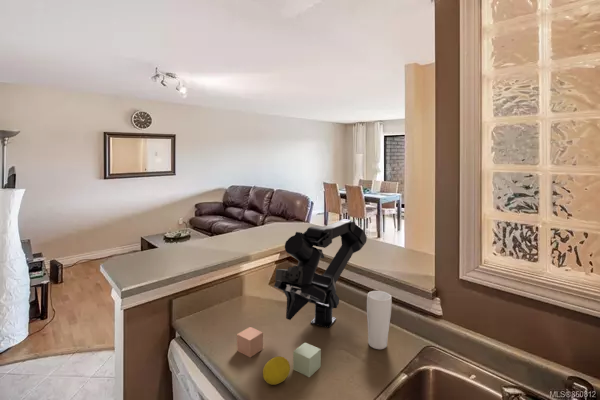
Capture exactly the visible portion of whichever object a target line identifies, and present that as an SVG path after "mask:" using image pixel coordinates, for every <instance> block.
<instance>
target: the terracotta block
mask: <svg viewBox="0 0 600 400" xmlns="http://www.w3.org/2000/svg"><path fill="white" fill-rule="evenodd" d="M236 342H237V343H236V345H237V346H236V348H237V349H236V351H237V352H239V353H241V354H243V355H244V356H247V358H251V357H253V356H255V355H256V354H258V353H260V351H262V350H264V333H263V331H261V330H259V329H256V328H254V327H251V326H249V327H247V328H246V329H244V330H242V331H240V332H238V333H237V334H236Z"/></svg>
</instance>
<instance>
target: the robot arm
mask: <svg viewBox="0 0 600 400" xmlns="http://www.w3.org/2000/svg"><path fill="white" fill-rule="evenodd" d="M338 237H340V239H341V241H340V242H341V245H340V247H339V249H338V250H337V251H336V254H334V256H333V258H332V260H331V261H330V263H329V264H328V266H327V267H326V270H325V271H324V273H323V274H319V273H317V270H318V269H317V268H318V266H319V263H320V260H321V259H325V254H324V253H323V252H324V251H323V249H324V248H325V249H326V248H327V247H328V246H330V245H331V244H332V243H333V240H334V239H336V238H338ZM367 240H368V239H367V235H366V233H365V231H364V230H363V228H361V227H360V226H359V225H357V224H356V222H355V221H354V220H352V219H346V218H345V219H344V218H343V219H340V220H339V221H335V222H332V223H330V224H328V225H325V226H319V225H318V226H309V227H308V228H307V229H306V231H304V232H300V231H296V232H295V234H294V235H291V236H290V237H289V238H288V239H287V240H286V241H285V243H284V249H285V252H286V253H287V255H288V254H289V255H290V256H291V257H293V258H294V259H296V261H298V263H297V265H293V266H289V267H288V269H286V268H285V269H283V268H276V269H275V277H274V281H275V282H274V285H273V287H274V288H276V289H278V290H280V291H282V292H283V293H284V295H285V297H286V308H285V309H286V311H285V312H286V314H285V318H286V319H287V320H289V321H291V320H292V319H293V318H294V317H295V316H296V315H297V314H298V313H299V311H300V310H301V309H303V308H304V307H305V306H306V305H307V304H308V303H310V304H314V317H313V319H312V320H310V324H312V325H317V326H320V327H324V328H327V329H328V328H330V327H331V326H332V325H333V324H334V323H335V321H336V320H337V318H336V317H334V316H333V309H337V308H338V306H339V303H340V297H339V295H337V287H336V283H337V282H338V280H339V278H340V276H341V275H342V273H343V271H344V269H345V268H346V266H347V265H348V263H349V261H350V260H351V258H352V256H353V254H355V253H356V252H358V251H361V250H362V248H363V247H364V246H365V244H366V243H367ZM316 247H318V248H316ZM321 248H322V249H321Z"/></svg>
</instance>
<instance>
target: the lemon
mask: <svg viewBox="0 0 600 400" xmlns="http://www.w3.org/2000/svg"><path fill="white" fill-rule="evenodd" d="M290 371H291V365H290V362H289V361H288V359H287V358H285V357H283V356H274V357H273V358H270V359H269V360H268V361H267V362H266V363H265V364H264V367H263V369H262V377H263V380H264V381H265V382H266V383H267V384H269V385H271V386H272V385H279V384H282V382H284V381H285V380H286V379H287V377H288V376H289V374H290Z"/></svg>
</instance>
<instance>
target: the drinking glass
mask: <svg viewBox="0 0 600 400" xmlns="http://www.w3.org/2000/svg"><path fill="white" fill-rule="evenodd" d="M366 296H367V297H366V316H367V317H366V318H367V321H366V322H367V338H368V339H367V343H368V345H369V346H370V347H371V348H373V349H375V350H384V349H386V348H387V346H388V338H389V330H390V324H391V323H390V321H391V316H392V305H393V304H392V303H393V302H392V301H393V300H392V295H391V294H390V293H389V292H386V291H384V290H372V291H369V292H367V295H366Z"/></svg>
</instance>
